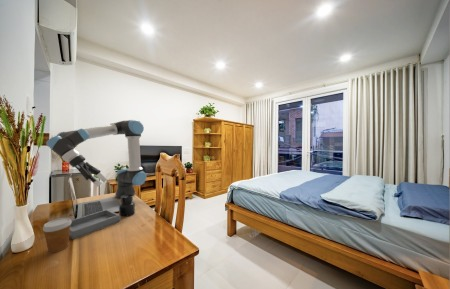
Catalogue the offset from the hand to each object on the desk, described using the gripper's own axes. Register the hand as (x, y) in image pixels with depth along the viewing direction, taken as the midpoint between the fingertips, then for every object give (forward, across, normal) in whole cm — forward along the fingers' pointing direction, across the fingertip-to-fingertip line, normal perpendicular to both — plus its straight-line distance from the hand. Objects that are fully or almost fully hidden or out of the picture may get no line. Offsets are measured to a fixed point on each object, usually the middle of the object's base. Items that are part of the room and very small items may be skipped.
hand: (103, 182), depth 109 cm
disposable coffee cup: (+10, +28, -24) cm, 38 cm away
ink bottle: (+25, 0, -5) cm, 26 cm away
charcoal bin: (+14, +10, -17) cm, 24 cm away
